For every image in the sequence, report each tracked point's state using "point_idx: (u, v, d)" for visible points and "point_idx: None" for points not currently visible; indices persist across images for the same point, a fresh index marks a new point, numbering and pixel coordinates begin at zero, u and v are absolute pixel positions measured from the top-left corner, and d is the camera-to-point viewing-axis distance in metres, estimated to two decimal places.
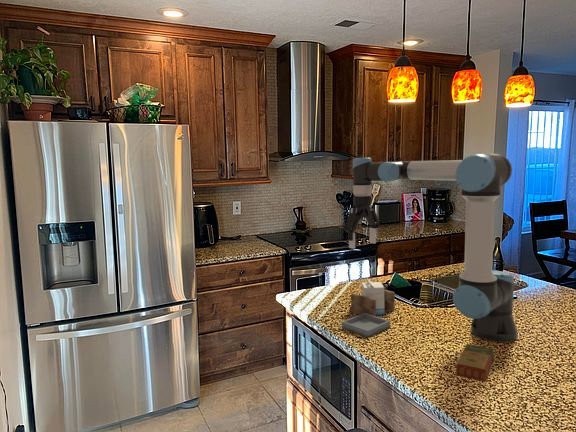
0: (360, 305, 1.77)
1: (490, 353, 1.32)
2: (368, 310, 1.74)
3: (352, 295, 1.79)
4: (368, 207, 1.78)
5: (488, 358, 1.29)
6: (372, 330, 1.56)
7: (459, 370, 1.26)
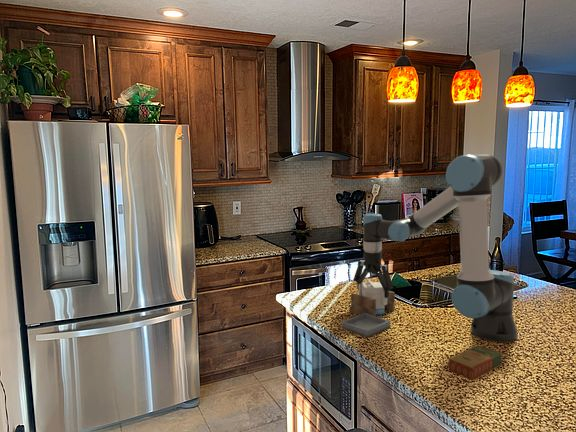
0: (360, 305, 1.77)
1: (494, 356, 1.30)
2: (368, 310, 1.74)
3: (352, 295, 1.79)
4: (376, 264, 1.76)
5: (486, 360, 1.28)
6: (372, 330, 1.56)
7: (450, 365, 1.29)
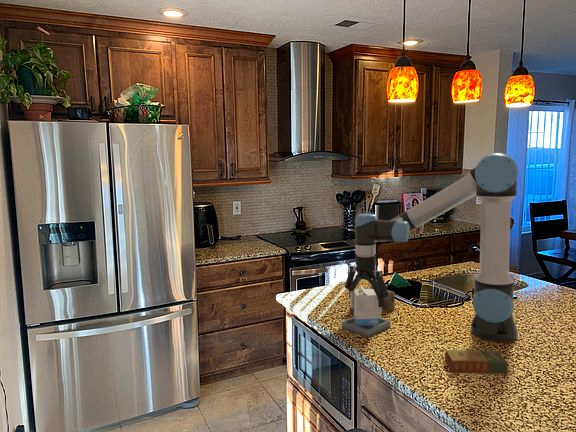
0: None
1: (493, 361, 1.27)
2: None
3: None
4: (369, 270, 1.58)
5: (479, 361, 1.27)
6: (372, 330, 1.56)
7: (445, 356, 1.35)
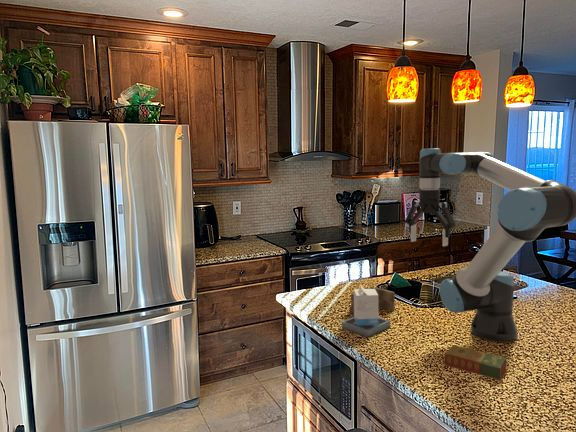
0: None
1: (486, 364, 1.25)
2: None
3: (352, 295, 1.79)
4: (434, 203, 1.62)
5: (471, 360, 1.28)
6: (372, 330, 1.56)
7: None
